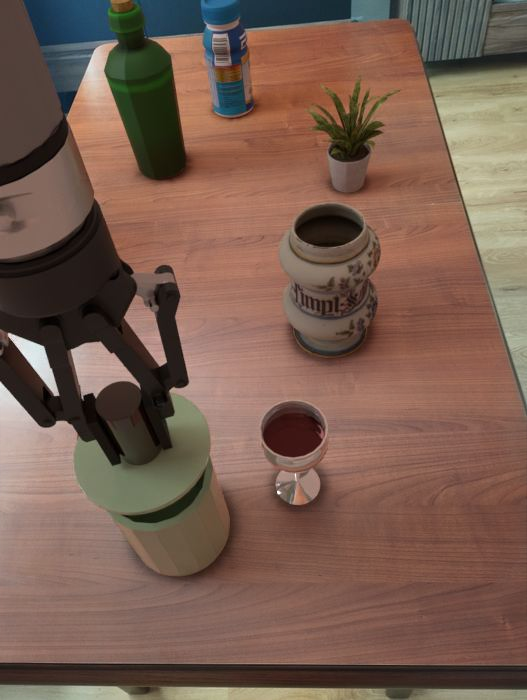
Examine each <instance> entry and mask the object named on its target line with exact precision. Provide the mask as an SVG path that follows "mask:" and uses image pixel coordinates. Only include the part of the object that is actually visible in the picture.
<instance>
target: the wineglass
mask: <svg viewBox="0 0 527 700" xmlns="http://www.w3.org/2000/svg"><path fill="white" fill-rule="evenodd" d="M258 424H259V425H258V429H257V431H258V435H259V444H260V450H261V452H262V454H263V455H264V457H265V459H266V461H267V462H268V463H269V464H270V465H271V466H273V467H274V468H275V469H276V470H279V471H280V472H279V473H278V475H277V476H276V480H275V490H276V492H277V495H278V496H279V497H280V498H281V500H283V501H284V502H285V503H288V504H290V505H294V506H295V505H296V506H301V505H302V506H303V505H307V504H308V503H311V502H312V501H313V500H314V499H315V498H316V497H318V494H319V492H320V489H321V480H320V477H319V475H318V473H317V471H316V470H315V469H314V468H315V467H316V466H317V465H318V464H319V463H320V462H322V461H323V459H324V457H325V456H326V453H327V451H328V449H329V439H330V438H329V433H328V432H329V425H328V421H327V417H326V416H325V414H324V413H323V412H322V410H321V409H320V408H319V407H318V406H316V405H315V404H313V403H312V402H309V401H306V400H303V399H296V398H295V399H294V398H292V399H291V398H289V399H286V400H285V399H284V400H280V401H278V402H277V403H275V404H272V405H271V406H270V407H269V408H267V410H265V411H264V413H263V414H262V416H261V418H260V420H259V423H258Z"/></svg>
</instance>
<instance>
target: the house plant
mask: <svg viewBox="0 0 527 700" xmlns="http://www.w3.org/2000/svg"><path fill="white" fill-rule="evenodd" d="M361 83H362V74H359V76H358V77H357V80H356V81H355V85H354V88H353V92H352V95H351V94H348V98H349V105H348V111H349V113H347V112H346V109H345V107H344V104H343V102H342V100H341V98H340V97H339V95H338V94H337V93H336V92H335V91H333V90H331V89H329V88H328V87H327V86H325V85H323V84H320V83H318V85H319V86H320V88H322V89H323V90H324V91H325V94H327V95H328V96H329V97H330V99H331V100H332V101H333V103H334V106H335V109H336V112H337V115H338V117H339V119H340V123H341V125H340V124H338V123H337V121H336V120H335V118H334V117H333V116H332V115H331V114H330V112H329V111H328V110H327V109H325V108H324V107H322V106H320V105H319V104H317V103H314V102H308V104H309V105H312V106H314V108H316V109H318V110H319V111H321V112H322V113H323V114H324V115H325V116H326V117H327V118H326V117H324V116H323V115H322V114H320V113H317V112H316V111H315V110H313V109H312V108H309V107H307V106H305V109H306V111H307V112H308V113H309V114H310V115H311V116H312V119H313V120H314V122H315V123H316V125H314V126H312V127H311V128H310V129H309V130H310V131H321V132H324V133H326V134H327V135H328V136H329V138H328V139H322V142H325V143H330V144H329V145H328V147H327V149H326V156H327V160H328V161H327V162H328V167H329V172H330V178H331V184H332V186H333V188H334V189H335V190H336V191H339V192H340V193H353V192H356V191H358V190H360V189H361V188H362V187H363V186H364V183H365V179H366V174H367V171H368V167H369V163H370V160H371V159H370V158H371V155H372V150H373V151H374V150H375V149H374V148H375V146H376V142H375V141H373V140H371V139H373V138H376V137H378V136H381V135H382V134H385V132H384V131H382V130H380V128H382V127H387V125H386V124H385V123H383V122H382V121H381V120H376V118H378V117H379V116H380V115H381V114H382V113H383V112H385V111H386V109H384V110H383V111H381V112H380V113H378V114H377V115H376V116H374V118H373V119H372V120H371V118H372V117H373V115H374V114H375V113H376V112H377V111H378V109H379V108H380V107H381V106H382V105H384V104H385V102H386V101H387V100H388V99H389V98H391V97H393V95H395V94H398V93H400V92H402V91H403V89H397V90H393V91H390V92H388V93H386V94H384V95H383V96H379V95H378V96H377V95H376V96H371V97H370V98H369V96H370V92H371V87H369V88H368V89H367V90H366V91H365V94H364V96H363V99H362V102H359V98H360V95H361V89H362V84H361ZM377 98H379V99H378V100H377V101H376V102H375V103H374V104H373V105H372V107H371V108H370V110H369V112H368V114H367V115H366V117H365V119H364V114H365V110H366V106H367V105H368V103H369V102H370V101H372V100H375V99H377ZM327 119H329V121H330V122H329V121H328V120H327ZM363 119H364V120H363ZM370 120H371V121H370Z"/></svg>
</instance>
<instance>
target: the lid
mask: <svg viewBox="0 0 527 700" xmlns="http://www.w3.org/2000/svg"><path fill="white" fill-rule="evenodd" d="M169 392H170V395H171V398H172V402H173V406H174V410H175V413H174V416H172V417H169V418H165V419H166V421H167V426H168V430H169V434H170V439H171V443H172V448H170V449H167V450H163V448H162V446H161V443H160V441H159V439H158V437H157V435H156V432H155V430H154V428H153V426H152V424H151V421H150V419H149V417H148V415H147V413H146V410H145V408H144V404H143V399H142V394H141V389H140V386H139V385H137V384H136V383H133V382H132V381H127V380H120V381H119V380H118V381H115V382H112V383H110V384H108V385H106V386H105V387H104V388H102V389H101V390H100V391H99V393H97V395H96V397H95V398H96V400H95V410H96V413H97V415H98V416H99V418H100V420H101V422H102V423H103V425H104V427H105V429H106V430H107V432H108V434H109V436H110V437H111V439H112V441H113V443H114V444H115V446H116V448H117V449H118V451H119V453H120V458H121V464H118V465H114V466H112V465H111V463H110V462H109V460H108V458H107V457H106V455H105V454H104V452H103V450H102V449H101V447H100V445H99V444H98V442H97V441H96V440H93V441H90V442H87V443H86V442H85V441H83V440H81V438H80V436H79V438H78V441H77V440H76V444H75V447H74V451H73V459H72V462H73V463H72V465H73V466H72V467H73V474H74V477H75V480H76V483H77V485H78V487H79V488H80V490H81V492H83V494H84V495H85V496H86V498H87V499H88V500H89V501H90V502H91V503H92V504H94V505H95V506H97V507H98V508H100V509H102V510H104V511H106V510H107V511H109V512H112V513H116V514H122V515H140V514H147V513H151V512H155V511H157V510H160V509H163V508H165V507H167V506H169V505H171V504H173V503H174V502H176V501H177V500H179V499H180V498H182V497H183V496H184V495H185V494H186V493H187V492H189V491H190V489H191V488H192V487H193V486H194V485H195V484H196V483H197V481H198V480H199V478H200V477H201V475H202V473H203V472H204V470H205V468H206V465H207V463H208V460H209V456H211V450H212V438H211V437H212V436H211V431H210V428H209V425H208V422H207V420H206V418H205V416H204V413H203V412H202V411H201V410H200V408H199V407H197V405H196V404H195V403H194V402H192V401H191V400H189V399H188V398H187V397H185V396H183V395H180V394H179V393H175V392H172V391H169ZM107 511H106V512H107Z"/></svg>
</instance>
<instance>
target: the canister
mask: <svg viewBox="0 0 527 700" xmlns="http://www.w3.org/2000/svg"><path fill="white" fill-rule="evenodd" d="M105 511H106V512H107V513H108V514H107V515H109V517H110V518H111V519H112V521H113V522H114V523H115V525H116V527H117V528H118V529H119V531H120V532H121V533H122V535H123V536H124V538H125V539H126V540H127V542H128V543H129V544H130V546H131V547H132V548H133V551H135V552H136V554H137V555H138V557H139V558H140V560H141V561H142V562H143V564H145V566H147V567H148V568H149V569H151V570H153V571H154V572H156V573H158V574H160V575H163V576H168V577H187V576H190V575H193V574H196V573H198V572H200V571H202V570H204V569H206V568H207V567H208V566H209V565H211V564H213V562H214V561H215V560H216V559H217V558H218V557H219V556H220V554H221V553H222V551H223V550H224V548H225V546H226V544H227V541H228V539H229V536H230V529H231V517H230V512H229V509H228V505H227V502H226V499H225V496H224V493H223V490H222V487H221V484H220V481H219V478H218V474H217V472H216V469H215V466H214V462H213V459H212V455H210V456H209V460H208V463H207V465H206V468H205V470H204V472H203V473H202V475H201V477H200V478H199V480H198V481H197V483H196V484H195V485H194V486H193V487H192V488H191V489H190V491H189V492H187V493H186V494H185V495H184V496H183V497H182V498H180V499H179V500H177V501H176V502H174V503H173V504H171V505H169V506H167V507H165V508H163V509H160V510H157V511H155V512H151V513H147V514H140V515H122V514H116V513H112V512H109V511H107V510H105Z"/></svg>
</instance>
